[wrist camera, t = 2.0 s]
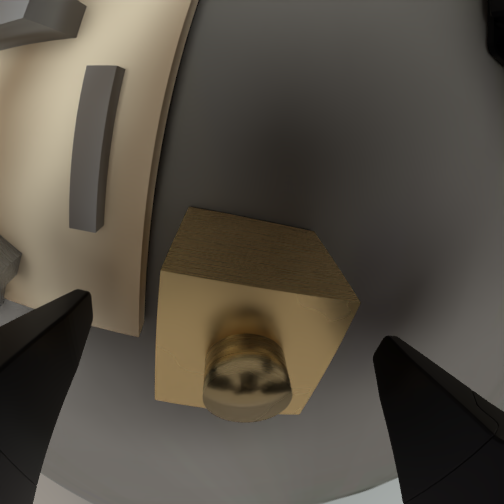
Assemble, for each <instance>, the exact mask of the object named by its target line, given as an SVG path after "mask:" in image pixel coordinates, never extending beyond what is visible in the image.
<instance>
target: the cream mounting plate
mask: <svg viewBox="0 0 504 504" xmlns="http://www.w3.org/2000/svg"><path fill="white" fill-rule="evenodd" d="M198 1H199V0H0V235H1V236H2V237H4V238H5V239H6V240H7V241H8V242H9V243H10V244H12V245H13V246H14V247H15V248H16V249H18V250H19V251H20V252H21V253H22V256H21V260H20V264H19V269H18V273H17V275H16V276H15V277H14V278H13V279H12V280H11V281H10V282H9V283H8V284H7V285H6V289H5V296H4V298H5V299H8V300H11V301H13V302H16V303H19V304H22V305H25V306H28V307H31V308H34V309H36V308H38V307H40V306H42V305H44V304H46V303H48V302H51V301H53V300H55V299H57V298H59V297H61V296H63V295H65V294H67V293H69V292H71V291H73V290H76V289H82V290H86V291H89V292H90V293H91V297H92V308H93V321H92V325H91V326H94V327H98V328H102V329H106V330H110V331H114V332H118V333H122V334H127V335H131V336H136V337H139V335H140V332H141V330H142V327H143V324H144V312H145V287H146V270H147V257H148V245H149V234H150V224H151V215H152V207H153V199H154V191H155V184H156V177H157V170H158V164H159V158H160V152H161V146H162V141H163V135H164V130H165V125H166V120H167V115H168V110H169V106H170V101H171V97H172V92H173V88H174V84H175V80H176V76H177V72H178V68H179V64H180V60H181V56H182V53H183V49H184V46H185V42H186V39H187V35H188V32H189V29H190V25H191V22H192V19H193V16H194V13H195V10H196V7H197V4H198Z"/></svg>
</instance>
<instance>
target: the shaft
mask: <svg viewBox="0 0 504 504" xmlns="http://www.w3.org/2000/svg"><path fill="white" fill-rule="evenodd" d="M21 256H22V253H21V252H20V251H19V250H18V249H16V248H15V247H14V246H13V245H12V244H10V243H9V242H8V241H7V240H6V239H5V238H4V237H2V236H1V235H0V306H1V305H2V303H3V302H4V296H5V289H6V285H7V284H8V283H9V282H10V281H11V280H12V279H13V278H14V277H15V276H16V275H17V273H18V269H19V264H20V260H21Z"/></svg>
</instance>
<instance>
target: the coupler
mask: <svg viewBox="0 0 504 504" xmlns="http://www.w3.org/2000/svg"><path fill="white" fill-rule="evenodd" d="M360 303H361V302H360V301H359V299H358V297H357V296H356V294H355V293H354V291H353V290H352V288H351V286H350V285H349V283H348V282H347V280H346V279H345V277H344V276H343V274H342V273H341V271H340V269H339V268H338V266H337V265H336V263H335V262H334V260H333V259H332V257H331V256H330V254H329V253H328V251H327V250H326V248H325V247H324V245H323V244H322V243H321V241H320V240H319V238H318V237H317V235H316V234H315V232H314V231H309V230H304V229H300V228H295V227H290V226H286V225H281V224H276V223H271V222H266V221H261V220H257V219H252V218H247V217H241V216H236V215H231V214H226V213H221V212H216V211H210V210H205V209H200V208H194V207H189V208H188V210H187V212H186V214H185V216H184V218H183V220H182V223H181V225H180V227H179V229H178V232H177V234H176V236H175V238H174V240H173V243H172V245H171V247H170V250H169V252H168V254H167V257H166V259H165V261H164V264H163V266H162V268H161V272H160V283H159V296H158V310H157V328H156V352H155V400H159V401H165V402H170V403H176V404H182V405H188V406H195V407H202V408H207V409H208V411H210V412H211V413H212V414H214V415H215V416H217V417H219V418H222V419H225V420H228V421H233V422H257V421H262V420H266V419H269V418H271V417H274V416H276V415H277V414H300V413H301V411H302V409H303V408H304V406H305V405H306V403H307V401H308V400H309V398H310V396H311V395H312V393H313V391H314V390H315V388H316V386H317V385H318V383H319V381H320V380H321V378H322V376H323V374H324V373H325V371H326V369H327V367H328V366H329V364H330V362H331V360H332V358H333V357H334V355H335V353H336V351H337V349H338V347H339V345H340V343H341V342H342V340H343V338H344V336H345V334H346V332H347V330H348V328H349V326H350V324H351V322H352V320H353V318H354V316H355V314H356V312H357V310H358V307H359V305H360Z"/></svg>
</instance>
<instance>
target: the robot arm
mask: <svg viewBox="0 0 504 504" xmlns="http://www.w3.org/2000/svg"><path fill="white" fill-rule="evenodd" d="M488 19H489V21H488V47H489V50H490V52H491V54H492V55H493V56H494V57H495V58H496V59H497V60H498V61H499V62H500V63H501V64H502V65H503V66H504V0H488ZM92 321H93V308H92V297H91V293H90V292H89V291H86V290H82V289H76V290H73V291H71V292H69V293H67V294H65V295H63V296H61V297H59V298H57V299H55V300H53V301H51V302H48V303H46V304H44V305H42V306H40V307H38V308H36V309H34V310H32V311H30V312H28V313H26V314H24V315H22V316H20V317H18V318H16V319H14V320H13V321H11V322H9V323H7V324H5V325H3V326H1V327H0V504H33V500H34V496H35V492H36V488H37V486H36V485H37V483H38V479H39V475H40V472H41V468H42V465H43V461H44V458H45V455H46V451H47V448H48V445H49V442H50V439H51V436H52V433H53V430H54V427H55V424H56V421H57V419H58V416H59V413H60V410H61V408H62V405H63V402H64V400H65V397H66V395H67V392H68V390H69V387H70V385H71V382H72V380H73V377H74V375H75V373H76V370H77V368H78V365H79V362H80V359H81V356H82V352H83V349H84V346H85V343H86V340H87V337H88V334H89V331H90V328H91V325H92ZM373 363H374V368H375V374H376V379H377V385H378V391H379V397H380V401H381V405H382V409H383V413H384V417H385V421H386V425H387V429H388V433H389V437H390V441H391V446H392V450H393V454H394V459H395V464H396V469H397V473H398V478H399V483H400V489H401V494H402V500H403V503H404V504H504V412H503V411H502V410H500V409H499V408H497V407H496V406H494V405H493V404H491V403H490V402H488V401H487V400H485V399H484V398H482V397H481V396H480V395H478V394H477V393H475V392H474V391H472V390H471V389H470V388H469V387H467V386H466V385H464V384H463V383H462V382H460V381H459V380H457V379H456V378H455V377H453V376H452V375H451V374H449V373H448V372H446V371H445V370H444V369H442V368H441V367H439V366H438V365H437V364H435V363H434V362H432V361H431V360H430V359H428V358H427V357H425V356H424V355H423V354H421V353H420V352H418V351H417V350H415V349H414V348H413V347H411V346H410V345H408V344H407V343H406V342H404V341H403V340H401V339H400V338H398V337H397V336H385V337H384V338H383V340H382V341H381V343H380V345H379V347H378V348H377V350H376V351H375V353H374V356H373Z"/></svg>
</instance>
